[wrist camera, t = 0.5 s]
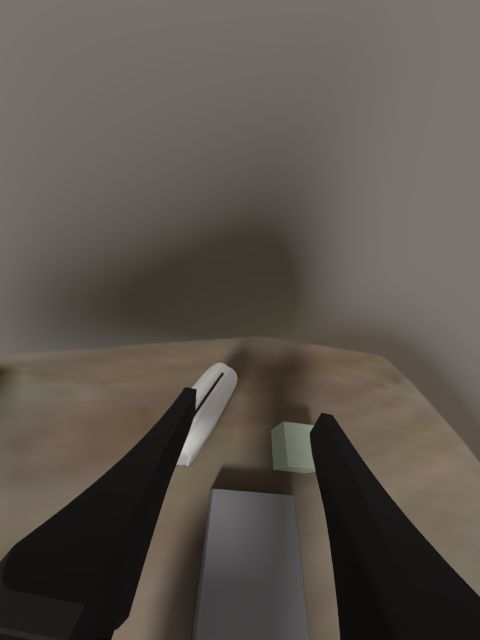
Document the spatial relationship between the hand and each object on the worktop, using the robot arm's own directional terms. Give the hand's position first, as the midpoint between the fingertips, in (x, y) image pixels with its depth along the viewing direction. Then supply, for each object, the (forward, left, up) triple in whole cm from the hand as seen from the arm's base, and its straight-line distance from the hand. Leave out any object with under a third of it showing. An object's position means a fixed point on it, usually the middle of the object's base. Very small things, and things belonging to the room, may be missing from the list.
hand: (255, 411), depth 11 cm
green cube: (+2, -11, -21) cm, 24 cm away
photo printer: (+4, +2, -21) cm, 21 cm away
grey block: (-8, -5, -21) cm, 23 cm away
